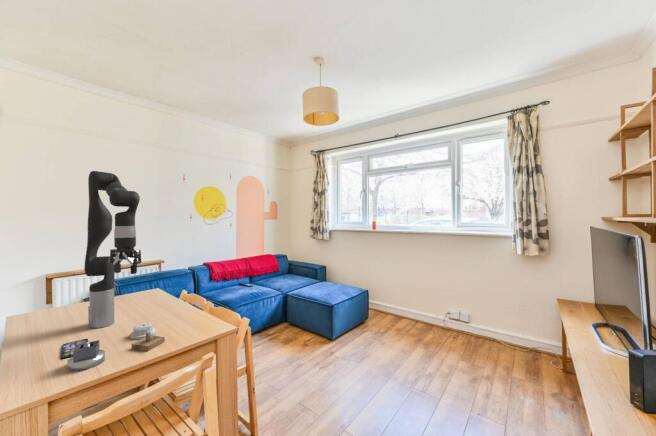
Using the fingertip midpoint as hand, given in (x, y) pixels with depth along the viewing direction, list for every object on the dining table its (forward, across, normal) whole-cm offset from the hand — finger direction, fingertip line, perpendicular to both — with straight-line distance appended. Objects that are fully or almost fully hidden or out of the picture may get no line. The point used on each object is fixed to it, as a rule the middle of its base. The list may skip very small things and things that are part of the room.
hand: (125, 273), depth 117 cm
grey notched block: (+26, +6, -20) cm, 33 cm away
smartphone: (+29, -10, -13) cm, 33 cm away
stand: (+28, +16, -4) cm, 33 cm away
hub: (+28, +6, -20) cm, 35 cm away
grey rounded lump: (+29, +5, +4) cm, 29 cm away
